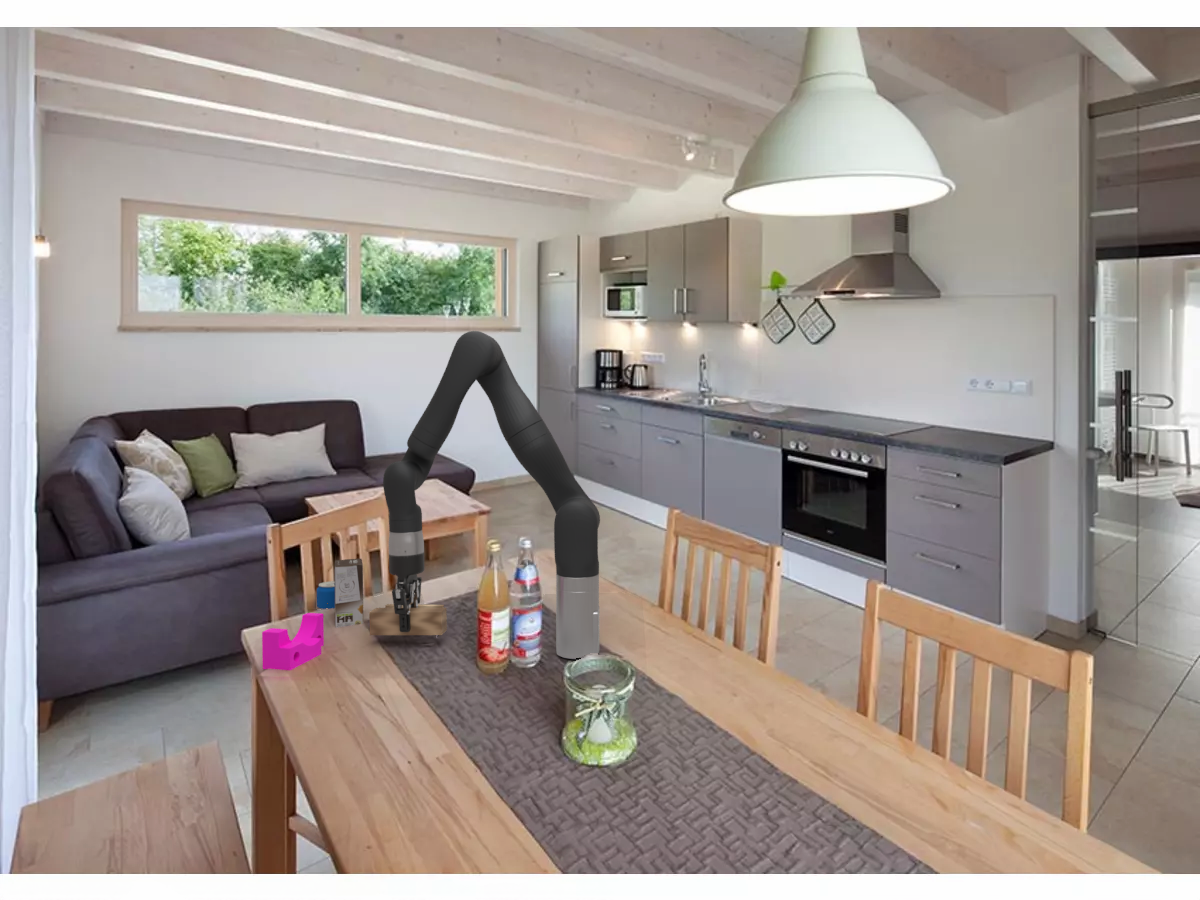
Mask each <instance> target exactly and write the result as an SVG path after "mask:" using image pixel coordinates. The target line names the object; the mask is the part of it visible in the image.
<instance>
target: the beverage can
mask: <svg viewBox="0 0 1200 900" xmlns="http://www.w3.org/2000/svg"><path fill="white" fill-rule="evenodd" d="M327 603H328V604H327ZM316 607H317V608H318V609H323V610H331V609H335V580H334V581H331V580H330V581H324V582H320V583H318V587H317V588H316ZM326 608H328V609H326Z"/></svg>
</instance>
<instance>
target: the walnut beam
mask: <svg viewBox="0 0 1200 900" xmlns="http://www.w3.org/2000/svg"><path fill="white" fill-rule="evenodd" d="M410 611H411V613H410V626H411V630H410V631H409V632H400V624H399V615H398V614H395V610H394V608H385V607H376V608H374V609H372V610H370V611H369V612H368V613H369V614H368V618H369V619H368V620H369V636H435V635H439V636H443V634H445V632H447V630H448V621H447V619H448V618H447V607H444V608H411V610H410Z"/></svg>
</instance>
